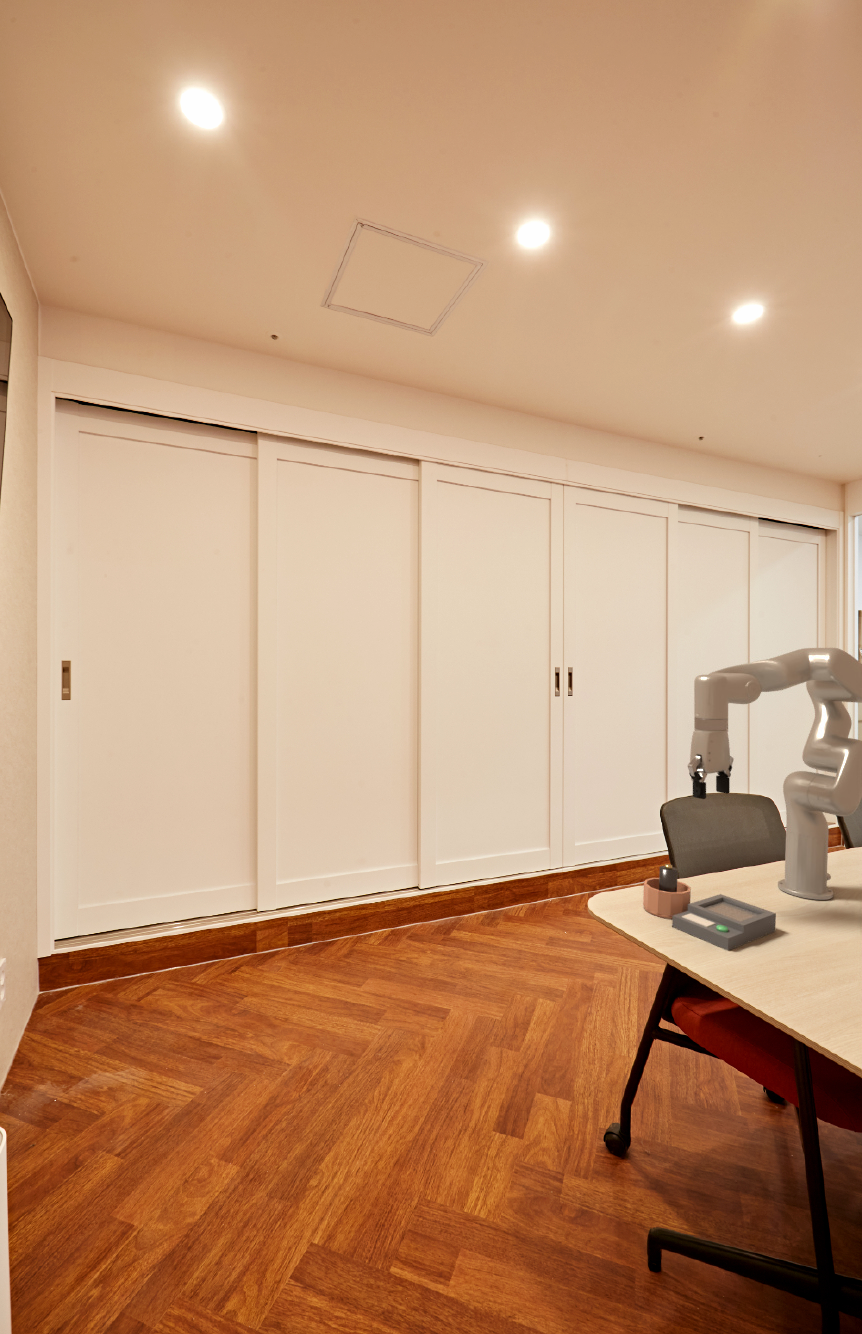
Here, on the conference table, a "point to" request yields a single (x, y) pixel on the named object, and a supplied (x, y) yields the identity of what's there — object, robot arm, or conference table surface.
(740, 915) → the pad
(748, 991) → the conference table surface
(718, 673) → the robot arm
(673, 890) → the battery
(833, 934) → the conference table surface
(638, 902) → the conference table surface
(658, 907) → the cup
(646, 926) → the conference table surface
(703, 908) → the grey button console
